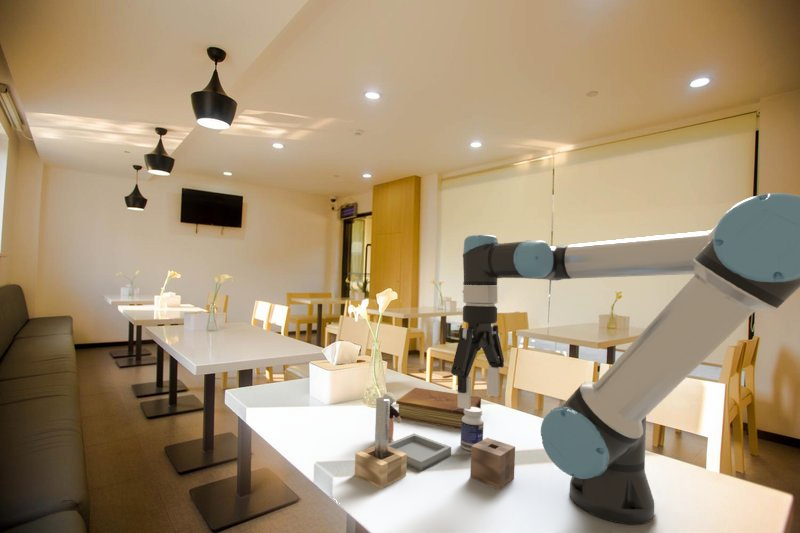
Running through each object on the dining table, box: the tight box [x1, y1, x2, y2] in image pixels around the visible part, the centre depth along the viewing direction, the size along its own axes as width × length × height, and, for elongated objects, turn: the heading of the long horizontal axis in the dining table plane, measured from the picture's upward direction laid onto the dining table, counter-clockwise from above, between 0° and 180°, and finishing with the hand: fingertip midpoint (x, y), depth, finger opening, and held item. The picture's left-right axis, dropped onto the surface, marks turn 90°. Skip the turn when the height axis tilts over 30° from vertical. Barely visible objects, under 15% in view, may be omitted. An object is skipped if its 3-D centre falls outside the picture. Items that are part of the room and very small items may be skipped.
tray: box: [388, 433, 452, 472], centre depth 101 cm, size 12×12×2 cm
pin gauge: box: [374, 396, 390, 460], centre depth 90 cm, size 3×3×16 cm
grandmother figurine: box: [382, 392, 402, 444], centre depth 110 cm, size 8×4×13 cm, turn 70°
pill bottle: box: [460, 407, 484, 452], centre depth 108 cm, size 6×6×10 cm
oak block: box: [354, 445, 408, 489], centre depth 90 cm, size 8×8×5 cm
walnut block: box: [469, 437, 516, 490], centre depth 91 cm, size 7×7×7 cm
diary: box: [395, 387, 482, 430], centre depth 132 cm, size 23×19×6 cm
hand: (479, 401), depth 91 cm, fingers open, 13 cm apart
